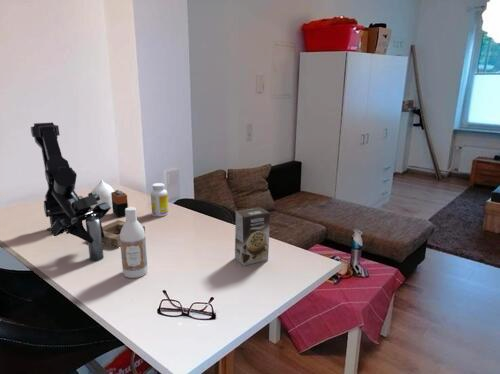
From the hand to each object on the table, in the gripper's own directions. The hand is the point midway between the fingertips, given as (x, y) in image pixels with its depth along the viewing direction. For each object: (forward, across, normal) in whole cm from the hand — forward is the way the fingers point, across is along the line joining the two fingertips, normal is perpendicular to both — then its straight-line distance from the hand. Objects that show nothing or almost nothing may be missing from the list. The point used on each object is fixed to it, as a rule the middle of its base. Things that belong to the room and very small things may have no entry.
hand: (97, 239), depth 116 cm
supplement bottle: (-2, +40, +11) cm, 42 cm away
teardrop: (-22, +37, +32) cm, 54 cm away
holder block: (-1, +15, +10) cm, 18 cm away
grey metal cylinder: (+4, 0, +6) cm, 7 cm away
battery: (-12, +32, +21) cm, 40 cm away
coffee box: (+34, +23, -25) cm, 48 cm away
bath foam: (+16, -1, -6) cm, 17 cm away
